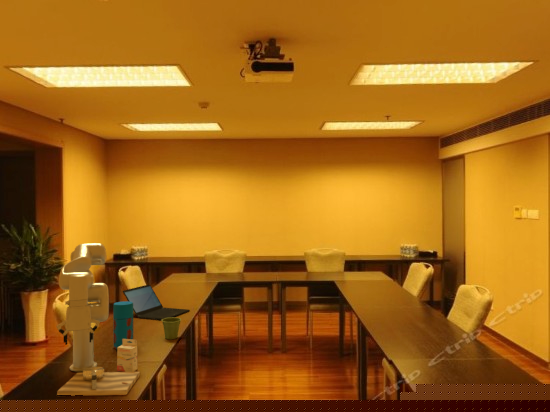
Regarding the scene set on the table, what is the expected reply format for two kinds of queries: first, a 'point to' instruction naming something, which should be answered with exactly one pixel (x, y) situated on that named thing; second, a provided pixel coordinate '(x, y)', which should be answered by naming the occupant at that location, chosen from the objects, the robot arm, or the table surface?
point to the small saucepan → (93, 375)
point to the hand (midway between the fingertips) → (78, 342)
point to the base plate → (100, 384)
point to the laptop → (149, 304)
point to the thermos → (122, 322)
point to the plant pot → (171, 327)
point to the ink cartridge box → (127, 356)
